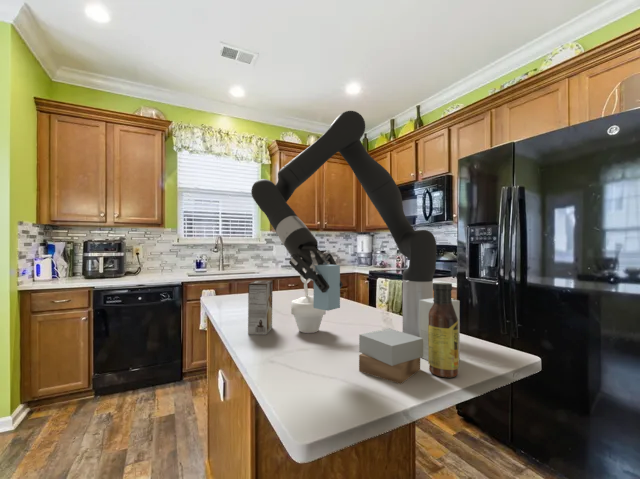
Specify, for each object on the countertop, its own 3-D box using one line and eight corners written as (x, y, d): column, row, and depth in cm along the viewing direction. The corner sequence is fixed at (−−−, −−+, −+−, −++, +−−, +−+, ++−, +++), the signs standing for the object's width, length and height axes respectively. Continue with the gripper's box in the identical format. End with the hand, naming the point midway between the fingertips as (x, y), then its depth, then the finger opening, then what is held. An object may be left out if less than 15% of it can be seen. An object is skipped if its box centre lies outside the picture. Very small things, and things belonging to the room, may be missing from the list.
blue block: (325, 305, 76) (325, 264, 76) (339, 307, 73) (339, 265, 73) (313, 308, 73) (313, 265, 73) (328, 310, 70) (328, 266, 70)
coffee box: (253, 327, 107) (254, 280, 107) (272, 327, 107) (273, 280, 107) (247, 334, 98) (248, 283, 98) (267, 334, 98) (268, 283, 98)
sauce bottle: (461, 380, 65) (461, 285, 66) (430, 377, 66) (430, 284, 67) (454, 368, 72) (454, 281, 72) (426, 366, 73) (426, 281, 73)
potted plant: (285, 334, 98) (286, 255, 99) (297, 325, 110) (298, 254, 110) (324, 337, 95) (324, 255, 96) (332, 328, 106) (333, 254, 107)
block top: (389, 344, 77) (389, 328, 77) (423, 356, 69) (423, 338, 69) (359, 351, 72) (359, 334, 72) (391, 365, 63) (392, 346, 64)
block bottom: (381, 360, 77) (381, 344, 77) (420, 371, 71) (420, 353, 71) (359, 372, 70) (359, 354, 70) (400, 386, 63) (400, 366, 63)
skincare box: (442, 352, 82) (442, 296, 83) (461, 360, 77) (461, 299, 77) (417, 357, 79) (418, 298, 79) (436, 365, 73) (436, 302, 74)
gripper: (282, 225, 73) (322, 281, 65) (322, 227, 84) (360, 276, 76) (268, 247, 76) (303, 303, 68) (307, 247, 87) (342, 295, 79)
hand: (333, 288), depth 72 cm, fingers closed on blue block, 4 cm apart
